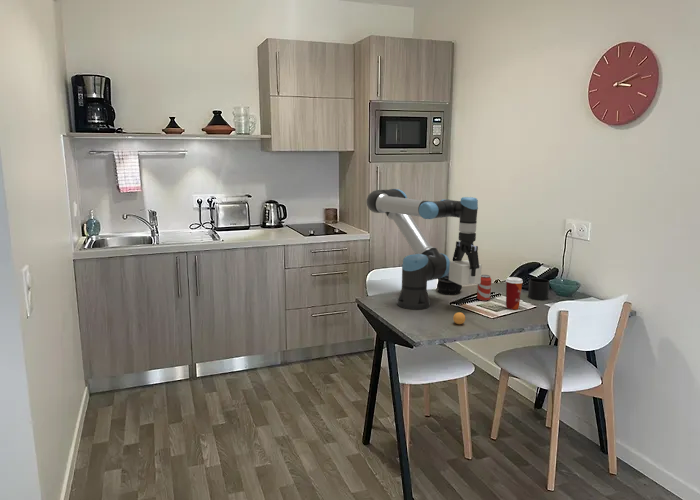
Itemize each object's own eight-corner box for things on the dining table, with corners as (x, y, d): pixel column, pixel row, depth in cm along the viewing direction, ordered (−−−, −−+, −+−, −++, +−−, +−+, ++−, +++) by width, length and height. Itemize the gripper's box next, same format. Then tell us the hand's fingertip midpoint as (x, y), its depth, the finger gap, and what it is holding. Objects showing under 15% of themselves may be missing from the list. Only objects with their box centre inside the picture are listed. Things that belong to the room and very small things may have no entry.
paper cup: (521, 310, 241) (524, 281, 238) (504, 309, 242) (506, 280, 240) (519, 306, 248) (522, 277, 246) (503, 304, 250) (505, 276, 247)
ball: (452, 325, 220) (452, 313, 219) (453, 321, 224) (454, 310, 223) (464, 326, 218) (464, 314, 217) (465, 322, 223) (466, 311, 222)
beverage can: (484, 302, 254) (486, 278, 252) (474, 299, 259) (475, 275, 257) (492, 300, 257) (494, 276, 255) (482, 297, 263) (483, 273, 260)
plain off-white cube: (461, 285, 234) (462, 266, 232) (448, 279, 243) (449, 261, 241) (480, 283, 237) (481, 264, 236) (467, 278, 247) (468, 259, 245)
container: (457, 288, 278) (458, 270, 276) (464, 295, 266) (465, 276, 264) (434, 288, 277) (435, 270, 276) (440, 295, 265) (440, 276, 263)
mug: (554, 297, 263) (556, 280, 262) (540, 301, 257) (542, 283, 255) (538, 293, 271) (539, 276, 269) (524, 297, 264) (525, 279, 262)
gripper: (490, 235, 227) (486, 285, 231) (460, 227, 247) (457, 273, 252) (475, 236, 224) (472, 286, 228) (446, 228, 245) (444, 274, 249)
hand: (464, 280), depth 240 cm, fingers closed on plain off-white cube, 10 cm apart
